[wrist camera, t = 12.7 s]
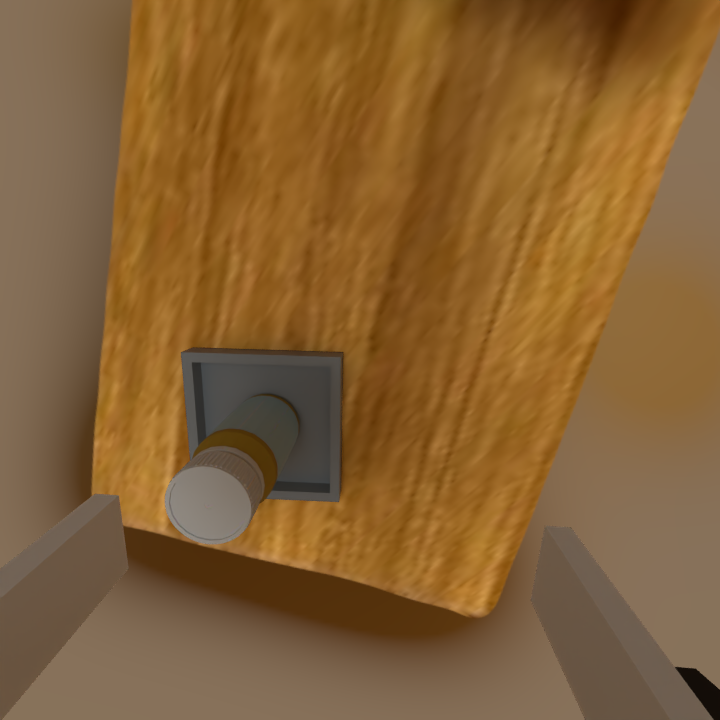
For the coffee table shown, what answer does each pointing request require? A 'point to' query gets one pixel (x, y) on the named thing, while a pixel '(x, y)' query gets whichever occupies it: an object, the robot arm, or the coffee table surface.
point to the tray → (285, 380)
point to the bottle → (233, 471)
